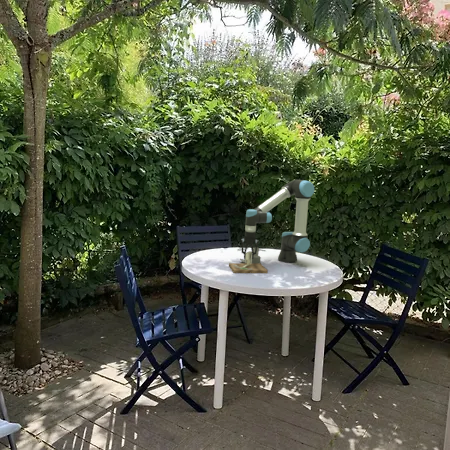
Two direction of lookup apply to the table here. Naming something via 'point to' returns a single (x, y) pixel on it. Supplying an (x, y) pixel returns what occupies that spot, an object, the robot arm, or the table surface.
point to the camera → (256, 257)
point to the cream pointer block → (248, 258)
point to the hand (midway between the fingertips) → (248, 263)
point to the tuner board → (247, 268)
